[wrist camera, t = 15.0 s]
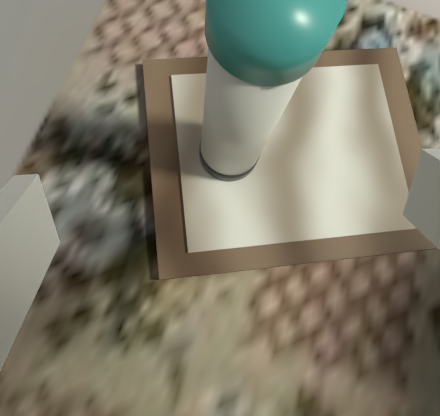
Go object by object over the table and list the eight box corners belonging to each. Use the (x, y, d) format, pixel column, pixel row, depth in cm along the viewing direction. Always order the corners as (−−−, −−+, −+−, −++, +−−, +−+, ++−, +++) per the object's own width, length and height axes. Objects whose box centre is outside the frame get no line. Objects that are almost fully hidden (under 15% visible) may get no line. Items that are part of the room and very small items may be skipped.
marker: (256, 123, 25) (335, -69, 12) (262, 182, 24) (357, 47, 11) (194, 125, 25) (202, -72, 11) (199, 185, 24) (213, 50, 10)
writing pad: (392, 52, 28) (397, 45, 28) (441, 247, 25) (449, 246, 24) (143, 65, 26) (142, 58, 26) (159, 280, 23) (158, 279, 22)
